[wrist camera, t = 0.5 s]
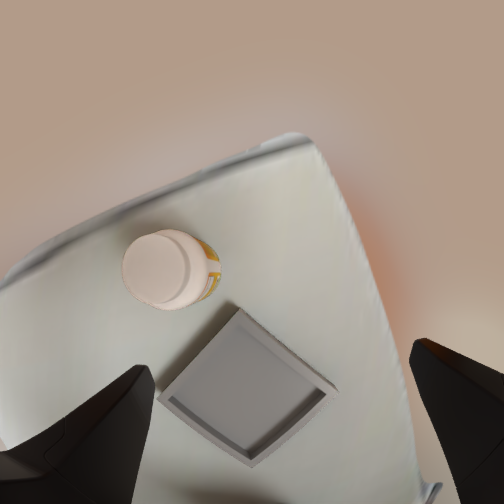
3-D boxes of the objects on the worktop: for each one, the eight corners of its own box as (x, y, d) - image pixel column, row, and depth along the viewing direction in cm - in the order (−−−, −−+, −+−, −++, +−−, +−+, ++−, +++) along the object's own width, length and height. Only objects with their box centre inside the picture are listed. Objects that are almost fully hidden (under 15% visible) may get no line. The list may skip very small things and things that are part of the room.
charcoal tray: (252, 458, 23) (251, 468, 21) (162, 391, 24) (156, 399, 22) (334, 385, 23) (339, 392, 21) (240, 307, 24) (238, 310, 22)
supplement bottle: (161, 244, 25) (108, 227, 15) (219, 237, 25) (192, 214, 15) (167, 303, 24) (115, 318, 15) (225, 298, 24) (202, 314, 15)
